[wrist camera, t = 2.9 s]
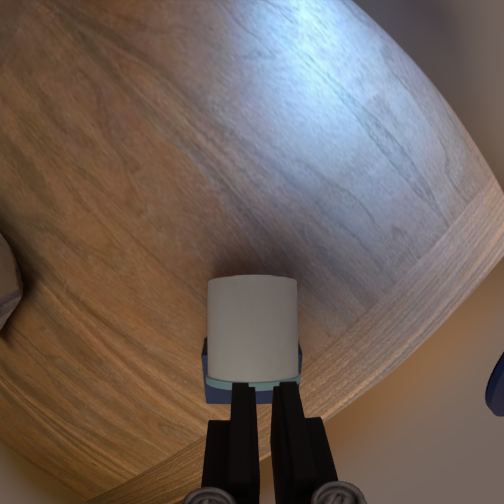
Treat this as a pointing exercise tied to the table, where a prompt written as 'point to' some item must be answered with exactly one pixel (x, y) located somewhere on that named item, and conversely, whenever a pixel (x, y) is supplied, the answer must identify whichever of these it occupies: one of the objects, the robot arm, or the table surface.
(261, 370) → the beige cylinder teal cap
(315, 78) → the table surface
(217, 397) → the dark rectangular block
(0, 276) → the potted plant
